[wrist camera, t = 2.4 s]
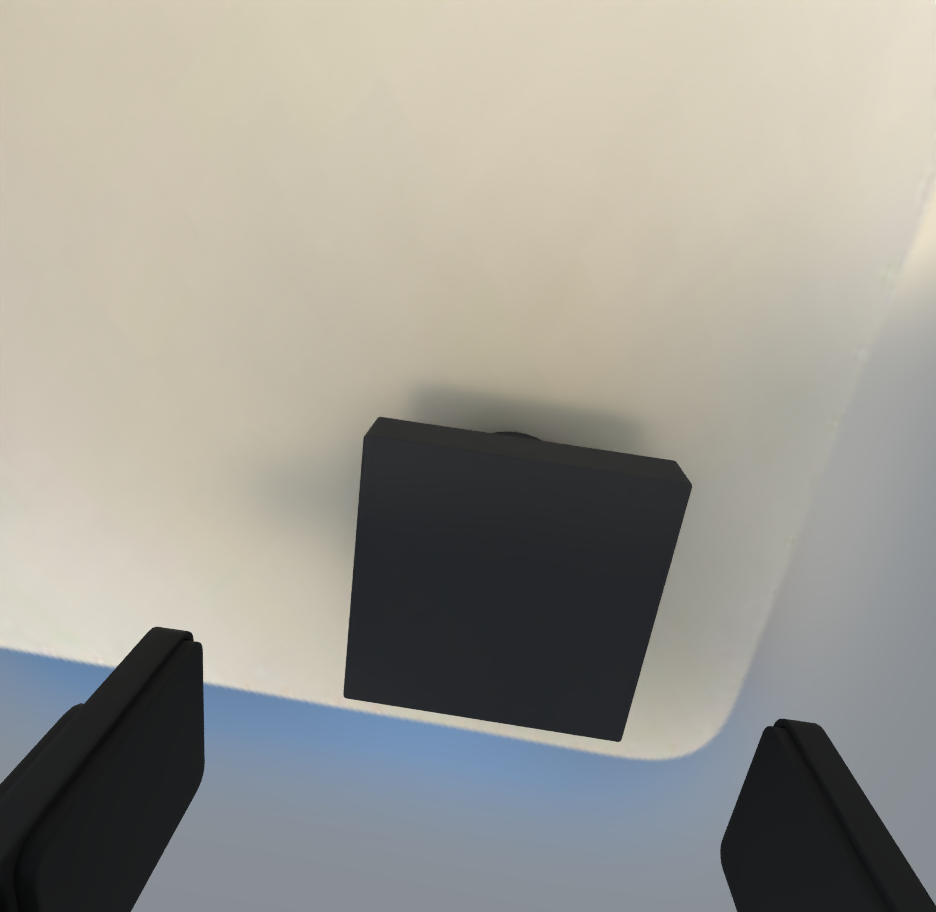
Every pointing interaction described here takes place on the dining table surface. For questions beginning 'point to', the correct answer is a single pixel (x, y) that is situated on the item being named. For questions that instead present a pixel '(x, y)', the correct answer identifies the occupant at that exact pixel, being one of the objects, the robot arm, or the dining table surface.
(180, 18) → the dining table surface
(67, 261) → the dining table surface
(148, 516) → the dining table surface
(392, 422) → the black pad
